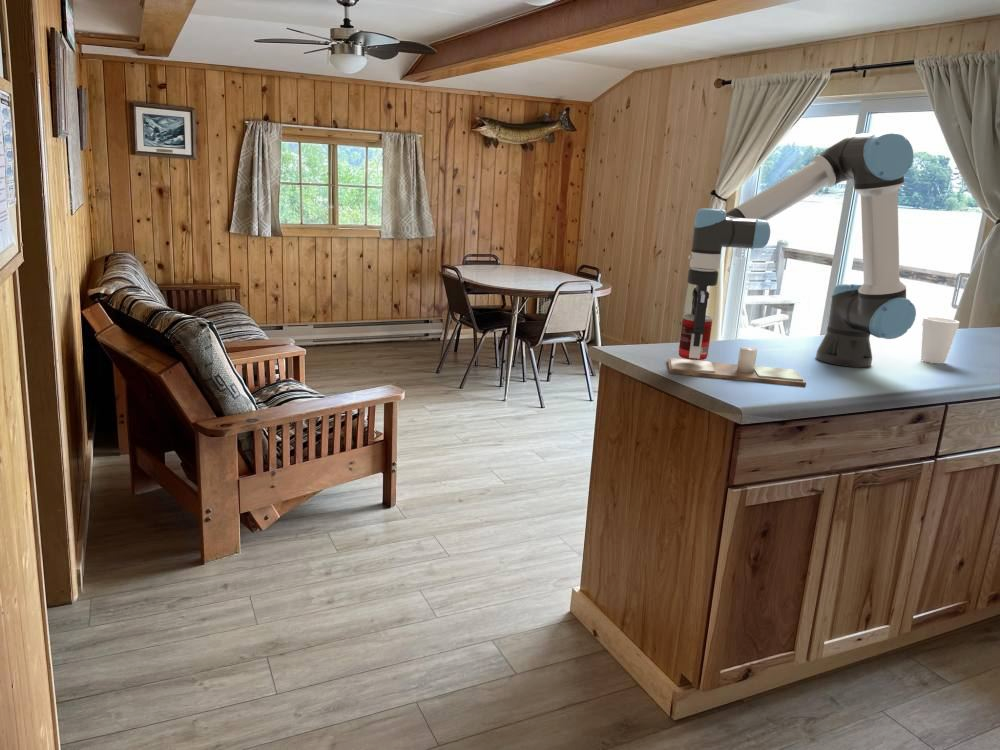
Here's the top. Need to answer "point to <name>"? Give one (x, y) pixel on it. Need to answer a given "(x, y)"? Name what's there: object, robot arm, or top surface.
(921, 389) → the top surface
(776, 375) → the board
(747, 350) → the ceramic post
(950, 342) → the foam cup
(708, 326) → the canned food
